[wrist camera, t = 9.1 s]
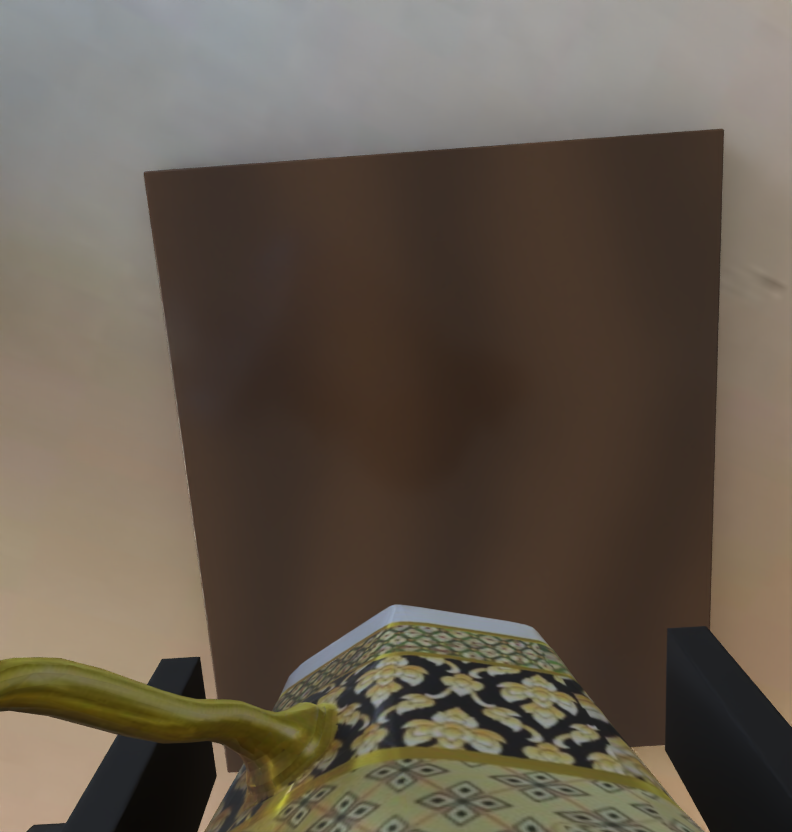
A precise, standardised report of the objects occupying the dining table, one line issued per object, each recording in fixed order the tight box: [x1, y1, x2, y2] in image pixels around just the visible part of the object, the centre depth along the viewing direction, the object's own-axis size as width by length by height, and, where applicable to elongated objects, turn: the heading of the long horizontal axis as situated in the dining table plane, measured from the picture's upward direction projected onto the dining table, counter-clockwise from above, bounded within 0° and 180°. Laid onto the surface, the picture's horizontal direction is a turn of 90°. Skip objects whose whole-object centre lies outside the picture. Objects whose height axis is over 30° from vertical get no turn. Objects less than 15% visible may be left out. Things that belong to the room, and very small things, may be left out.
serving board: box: [144, 129, 724, 773], centre depth 27 cm, size 20×24×1 cm
